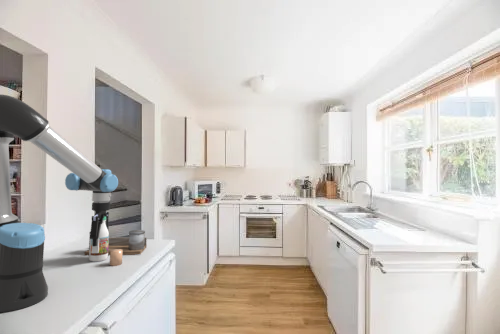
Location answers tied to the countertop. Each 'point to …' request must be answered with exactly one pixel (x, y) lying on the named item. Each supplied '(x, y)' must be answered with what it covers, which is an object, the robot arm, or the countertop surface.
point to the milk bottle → (101, 244)
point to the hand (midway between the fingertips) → (99, 250)
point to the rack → (127, 243)
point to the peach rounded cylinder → (116, 257)
